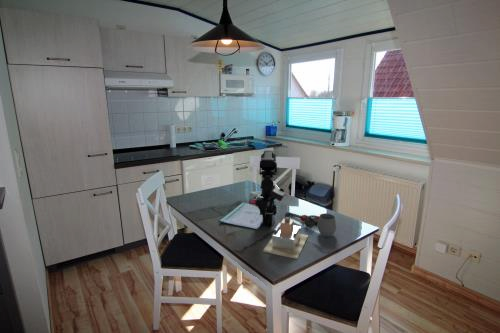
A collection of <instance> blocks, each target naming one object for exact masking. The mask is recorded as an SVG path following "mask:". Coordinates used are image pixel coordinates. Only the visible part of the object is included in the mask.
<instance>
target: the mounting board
mask: <svg viewBox="0 0 500 333" xmlns="http://www.w3.org/2000/svg"><path fill="white" fill-rule="evenodd" d="M308 238H309V235H308V234H303V233H301V237H300V240H299V241H298V243H297V245H296V247H295V249H294V251H288V250H283V249H278V248H274V247H272V238H270V240H269V242H268V243H267V245H266V246H265V247H264V249H263V250H262V252H263V253H268V254H272V255H276V256H277V255H278V256H281V257H286V258H291V259H296V260H298V258H299V257H300V254H301V252H302V250H303V249H304V246H305V244H306V243H307V240H308Z"/></svg>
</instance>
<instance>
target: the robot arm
mask: <svg viewBox="0 0 500 333" xmlns="http://www.w3.org/2000/svg"><path fill="white" fill-rule="evenodd" d="M277 171H278V162H277V155H276V154H274V151H273V150H269V149H267V150H263V153H261V155H260V161H259V175H261V182H260V186H259V188H260V189H261V193H260V197H258V198H257V199H256V200H255V201H254V206H256V207H257V208H258V210H259V215H260V216H262V217H261V219H262V221H261V223H260V224H259V225H260V226H264V227H267V228H268V227H269V228H272V226H273V225H274V224H275V223H276V222H275V221H274V216H276V215H277V212H278V211H277V206H276V204H275V200H277V201H279V202H281V201H282V200H283V199H284V197H285V196H286V192H285V188H284V187H280V188H276V185H275V183H274V176H275V175H276V173H278V172H277Z"/></svg>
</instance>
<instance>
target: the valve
mask: <svg viewBox="0 0 500 333" xmlns="http://www.w3.org/2000/svg"><path fill="white" fill-rule="evenodd" d="M284 215H287V216H289V217H293V218H297V219H299V220H300V221H301V222H302V223H304V226H305V227H306V228H308V229H313V228H314V226H315V227H317V225H318V221H319V217H320V215H316V214H315V215H313V214H312V215H306V214H302V215H301V214H300V215H299V214H296V213H293V212H289V211H286V212H285V211H284Z"/></svg>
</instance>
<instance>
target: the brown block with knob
mask: <svg viewBox="0 0 500 333" xmlns="http://www.w3.org/2000/svg"><path fill="white" fill-rule="evenodd" d="M280 223H281V229H280V232H281V233H287V234H291V233H292V231H293V230H294V223H295V220H294V219H290V216H289V217H288V216H286V217H284V218H283V219H282V221H281V222H280Z"/></svg>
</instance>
